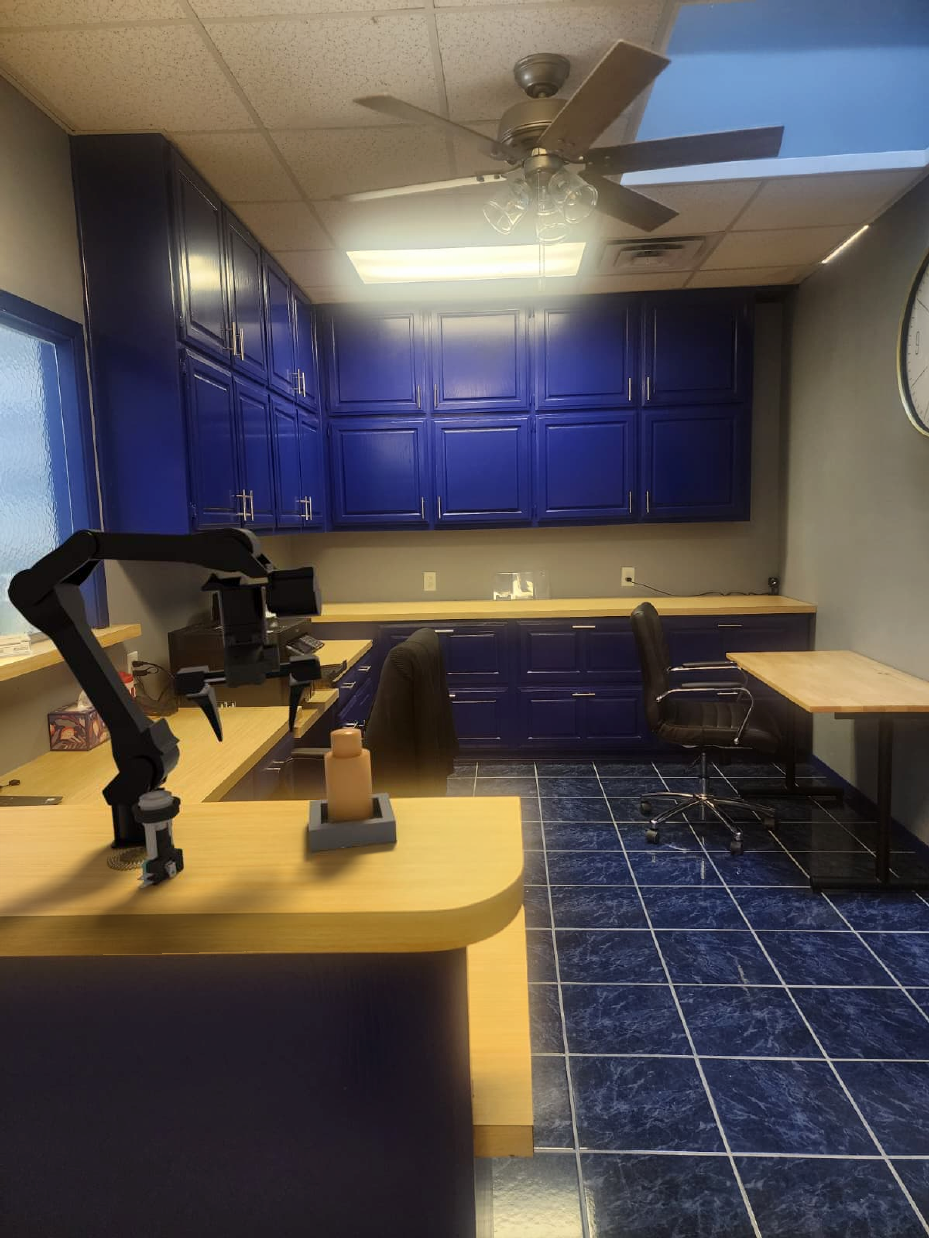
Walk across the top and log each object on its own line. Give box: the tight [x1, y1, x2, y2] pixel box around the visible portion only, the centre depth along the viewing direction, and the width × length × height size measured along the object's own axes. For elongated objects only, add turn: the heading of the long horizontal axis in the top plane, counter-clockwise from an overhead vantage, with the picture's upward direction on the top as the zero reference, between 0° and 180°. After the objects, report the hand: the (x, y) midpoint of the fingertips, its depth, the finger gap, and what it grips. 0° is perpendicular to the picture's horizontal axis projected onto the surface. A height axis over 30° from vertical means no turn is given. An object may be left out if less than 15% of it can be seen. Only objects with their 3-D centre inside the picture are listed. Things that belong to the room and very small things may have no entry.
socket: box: [308, 792, 398, 853], centre depth 98 cm, size 11×11×3 cm
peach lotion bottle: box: [323, 727, 374, 824], centre depth 98 cm, size 6×6×13 cm
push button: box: [132, 789, 185, 889], centre depth 86 cm, size 7×5×10 cm
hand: (256, 736), depth 99 cm, fingers open, 9 cm apart
